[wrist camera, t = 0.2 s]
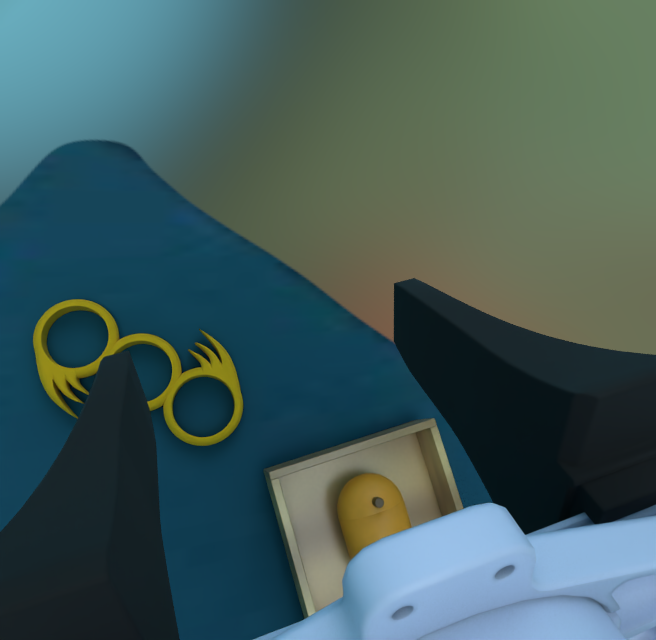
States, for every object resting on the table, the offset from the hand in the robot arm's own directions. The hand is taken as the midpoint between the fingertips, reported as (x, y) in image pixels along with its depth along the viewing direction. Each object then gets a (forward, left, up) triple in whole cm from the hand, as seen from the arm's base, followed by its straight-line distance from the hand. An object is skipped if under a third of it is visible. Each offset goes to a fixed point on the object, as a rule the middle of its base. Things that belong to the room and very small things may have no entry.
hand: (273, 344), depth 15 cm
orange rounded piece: (-12, -8, -30) cm, 33 cm away
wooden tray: (-12, -8, -31) cm, 34 cm away
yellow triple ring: (+4, +6, -31) cm, 32 cm away
